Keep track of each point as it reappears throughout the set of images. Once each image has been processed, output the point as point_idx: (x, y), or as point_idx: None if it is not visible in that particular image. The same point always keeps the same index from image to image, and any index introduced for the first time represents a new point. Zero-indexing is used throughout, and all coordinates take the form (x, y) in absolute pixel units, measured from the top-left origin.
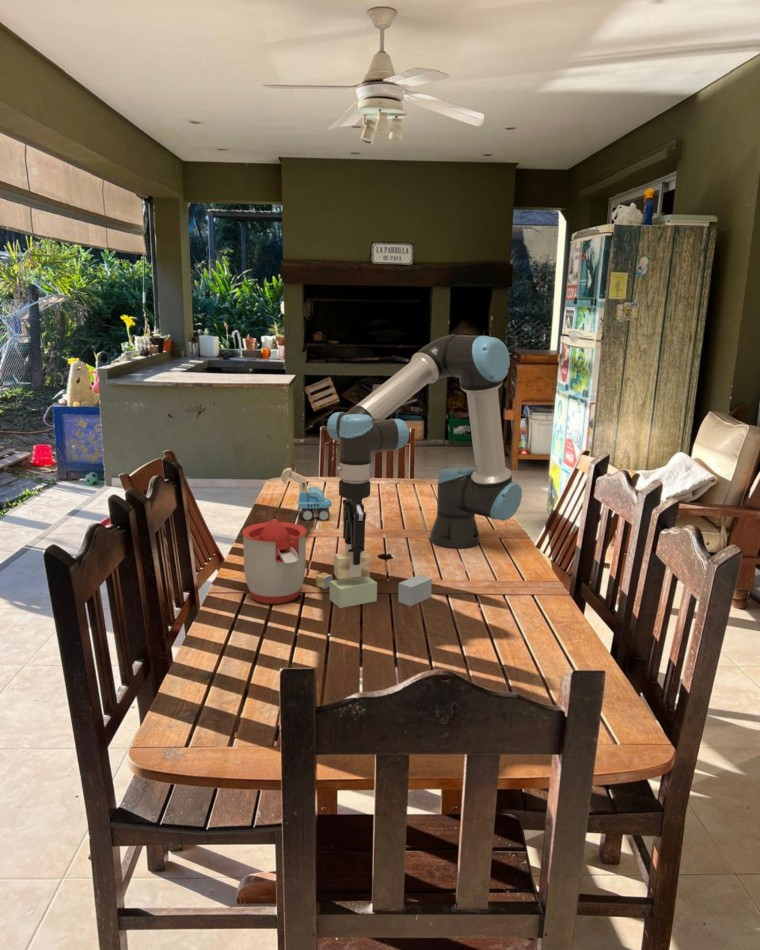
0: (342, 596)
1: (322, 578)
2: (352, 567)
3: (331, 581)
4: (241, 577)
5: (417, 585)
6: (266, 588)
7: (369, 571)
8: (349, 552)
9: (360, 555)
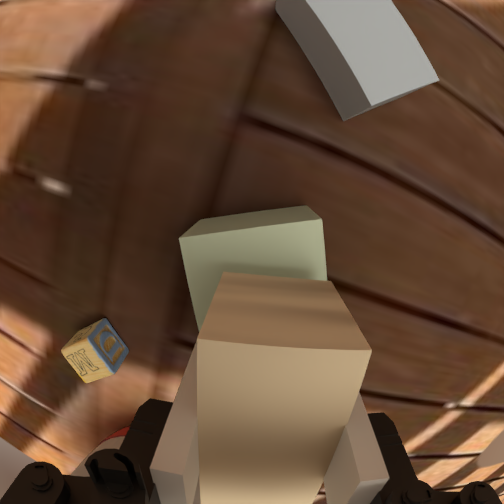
0: None
1: (109, 374)
2: None
3: None
4: (59, 459)
5: (413, 37)
6: None
7: (338, 297)
8: (197, 459)
9: (376, 451)
